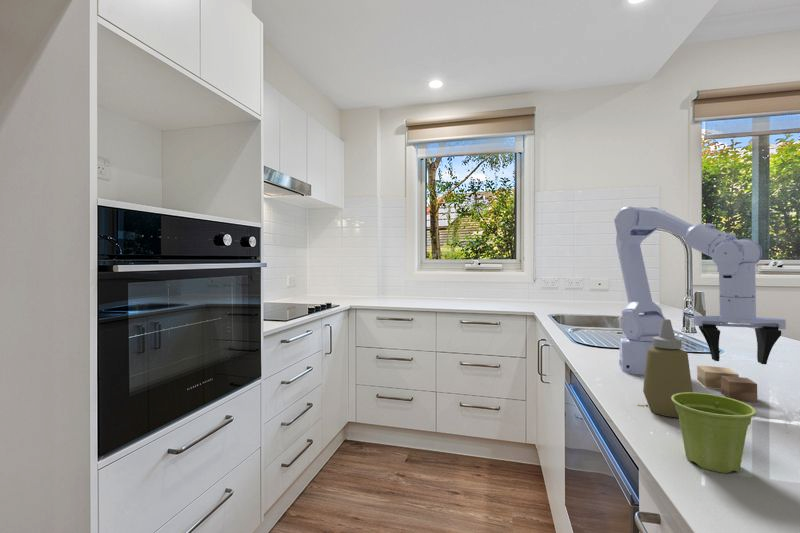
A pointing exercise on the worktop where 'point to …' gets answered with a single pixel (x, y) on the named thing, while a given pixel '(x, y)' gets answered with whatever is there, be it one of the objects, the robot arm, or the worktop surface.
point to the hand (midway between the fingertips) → (738, 361)
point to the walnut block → (739, 388)
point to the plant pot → (713, 429)
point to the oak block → (713, 375)
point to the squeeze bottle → (666, 372)
